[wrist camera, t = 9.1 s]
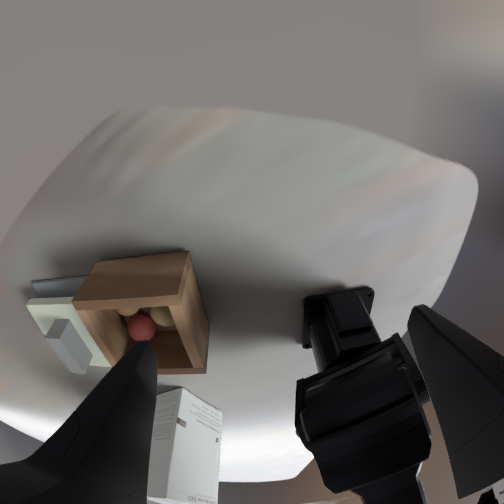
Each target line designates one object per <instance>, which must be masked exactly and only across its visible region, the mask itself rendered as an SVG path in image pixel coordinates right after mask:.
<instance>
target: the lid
mask: <svg viewBox="0 0 504 504" xmlns="http://www.w3.org/2000/svg"><path fill="white" fill-rule="evenodd" d="M72 299H73V297H57V298H33V299H30V300H29V301H28V302H27V304H26V307H27V308H28V310H29V311H30V313H31V315H32V316H33V318H34V320H35V321H36V323H37V324H38V326H39V327H40V329H41V330H42V332H43V333H44V335H45V339H46V341H47V342H48V344H49V345H50V346H51V348H52V349H53V350H54V352H55V353H56V354H57V356H58V357H59V358H60V360H61V361H62V362H63V364H64V365H65V366H66V367H67V369H68V370H69V371H70V372H71V373H78V374H86V372H87V369H88V367H89V365H92V366H106V367H111V365H110V364H109V362H108V361H107V359H106V358H105V357H104V355H103V354H102V352H101V351H100V349H99V348H98V346H97V345H96V343H95V341H94V340H93V338H92V337H91V335H90V333H89V332H88V330H87V329H86V327H85V325H84V324H83V322H82V320H81V318H80V317H79V315H78V313H77V312H76V310H75V308H74V306H73V304H72V303H71V301H72Z"/></svg>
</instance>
